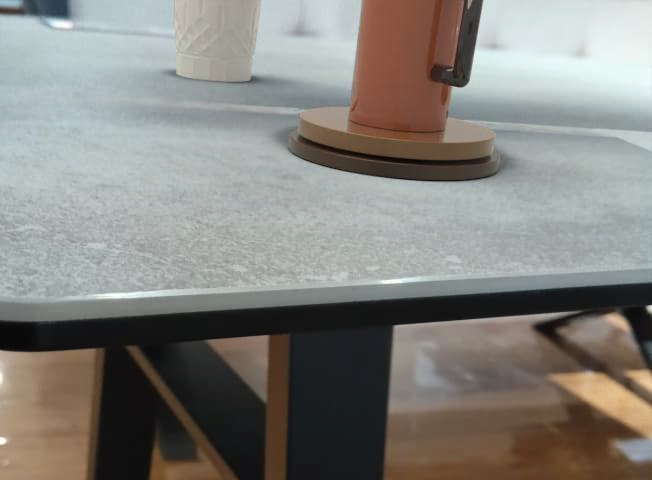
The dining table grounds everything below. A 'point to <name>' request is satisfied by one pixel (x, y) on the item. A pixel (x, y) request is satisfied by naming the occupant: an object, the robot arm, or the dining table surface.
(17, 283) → the dining table surface
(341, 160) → the lazy susan base
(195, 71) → the white cup
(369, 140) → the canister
